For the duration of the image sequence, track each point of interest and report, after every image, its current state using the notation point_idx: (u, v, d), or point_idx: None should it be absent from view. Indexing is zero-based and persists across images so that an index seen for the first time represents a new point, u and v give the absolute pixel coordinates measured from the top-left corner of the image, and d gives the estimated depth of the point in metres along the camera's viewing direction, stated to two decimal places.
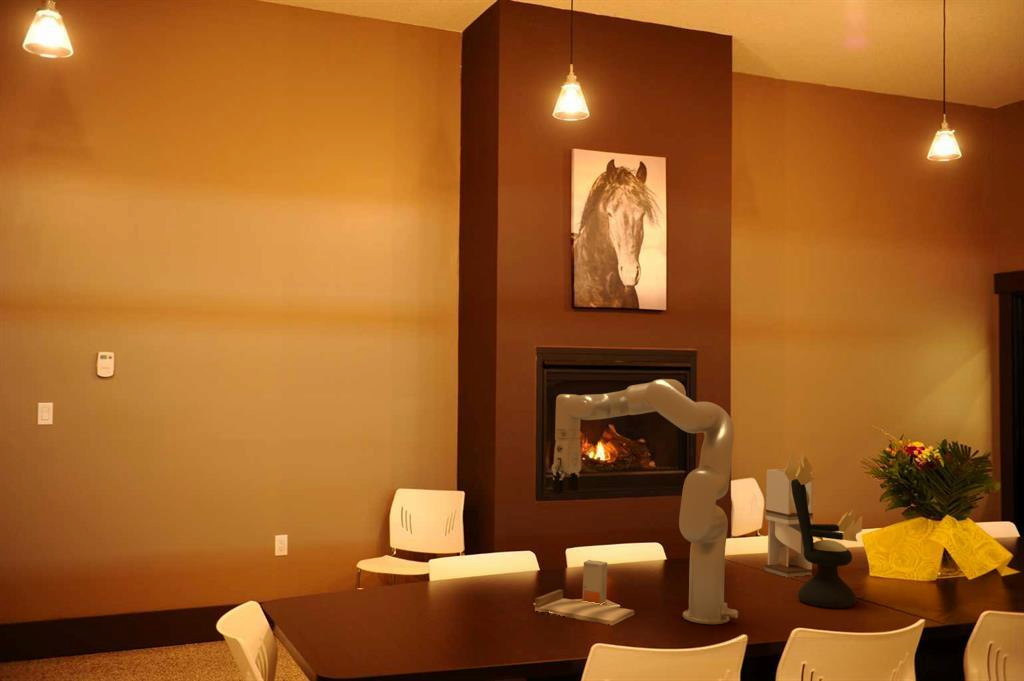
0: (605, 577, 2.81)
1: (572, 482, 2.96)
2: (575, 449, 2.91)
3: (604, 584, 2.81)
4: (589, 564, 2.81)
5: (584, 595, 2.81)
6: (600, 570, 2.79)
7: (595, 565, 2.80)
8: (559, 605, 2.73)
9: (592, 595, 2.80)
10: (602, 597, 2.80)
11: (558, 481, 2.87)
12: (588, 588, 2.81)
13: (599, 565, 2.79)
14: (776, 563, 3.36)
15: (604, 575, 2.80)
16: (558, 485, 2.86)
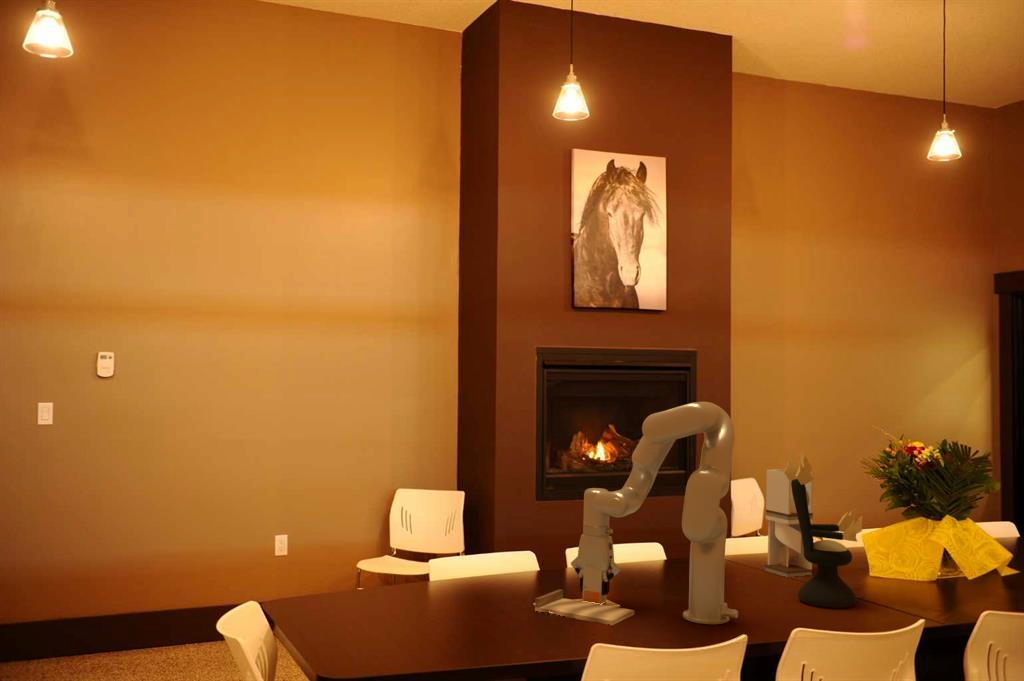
0: None
1: None
2: None
3: None
4: None
5: (584, 595, 2.81)
6: None
7: None
8: (559, 605, 2.73)
9: (592, 595, 2.80)
10: (602, 597, 2.80)
11: (608, 582, 2.80)
12: (588, 588, 2.81)
13: None
14: (776, 563, 3.36)
15: None
16: (609, 586, 2.80)
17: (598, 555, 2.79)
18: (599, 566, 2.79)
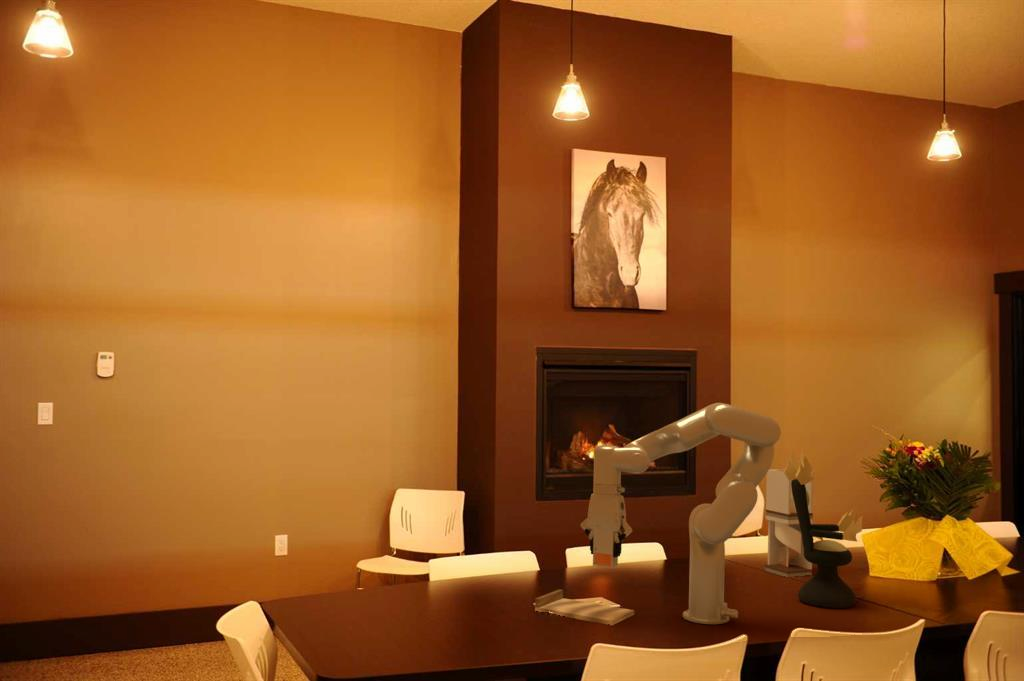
0: None
1: None
2: None
3: None
4: None
5: (594, 557, 2.67)
6: None
7: None
8: (559, 605, 2.73)
9: (603, 557, 2.65)
10: (613, 559, 2.65)
11: (620, 543, 2.65)
12: (598, 550, 2.66)
13: None
14: (776, 563, 3.36)
15: None
16: (620, 547, 2.66)
17: (609, 515, 2.65)
18: (610, 526, 2.65)
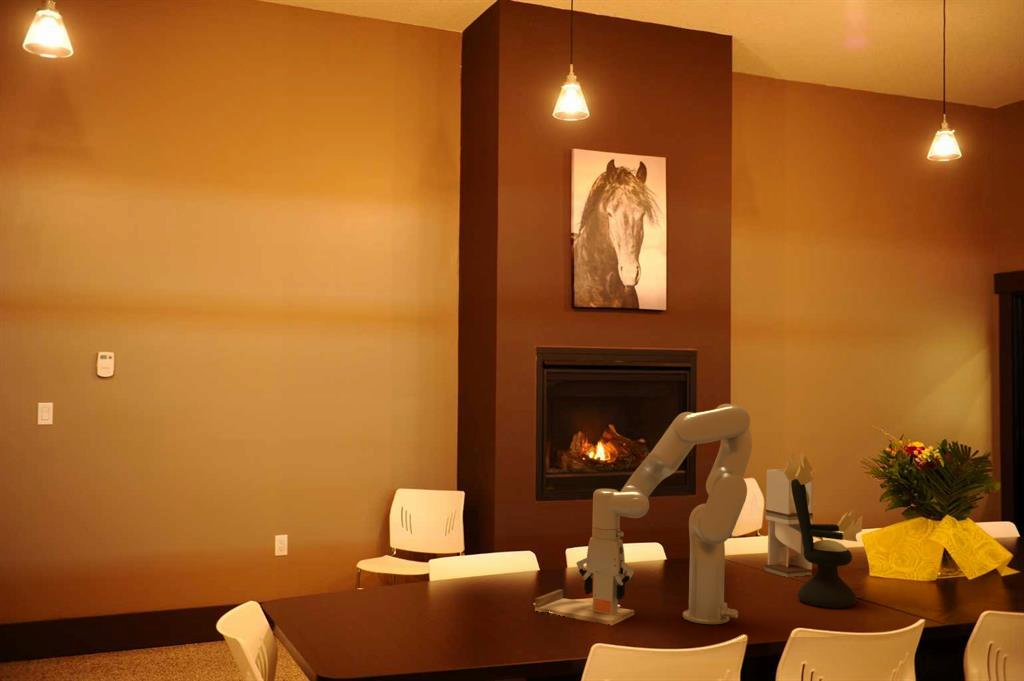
0: (616, 584, 2.66)
1: (590, 585, 2.69)
2: None
3: (615, 592, 2.66)
4: None
5: (594, 604, 2.66)
6: (611, 577, 2.64)
7: None
8: (559, 605, 2.73)
9: (602, 603, 2.65)
10: (613, 605, 2.65)
11: (624, 585, 2.64)
12: (598, 597, 2.66)
13: None
14: (776, 563, 3.36)
15: (615, 582, 2.65)
16: (624, 589, 2.65)
17: (608, 559, 2.64)
18: (609, 571, 2.64)
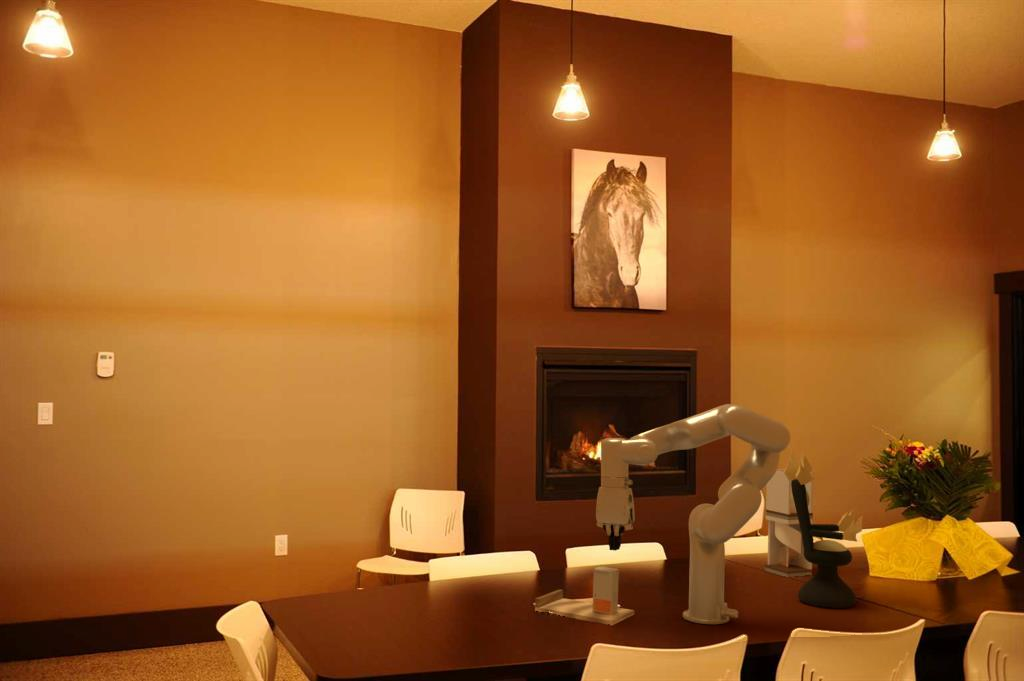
0: (616, 584, 2.66)
1: None
2: None
3: (615, 592, 2.66)
4: (599, 571, 2.66)
5: (594, 604, 2.66)
6: (611, 577, 2.64)
7: (606, 572, 2.65)
8: (559, 605, 2.73)
9: (602, 603, 2.65)
10: (613, 605, 2.65)
11: (619, 536, 2.66)
12: (598, 597, 2.66)
13: (610, 572, 2.64)
14: (776, 563, 3.36)
15: (615, 582, 2.65)
16: (620, 540, 2.66)
17: (617, 508, 2.63)
18: (619, 519, 2.63)
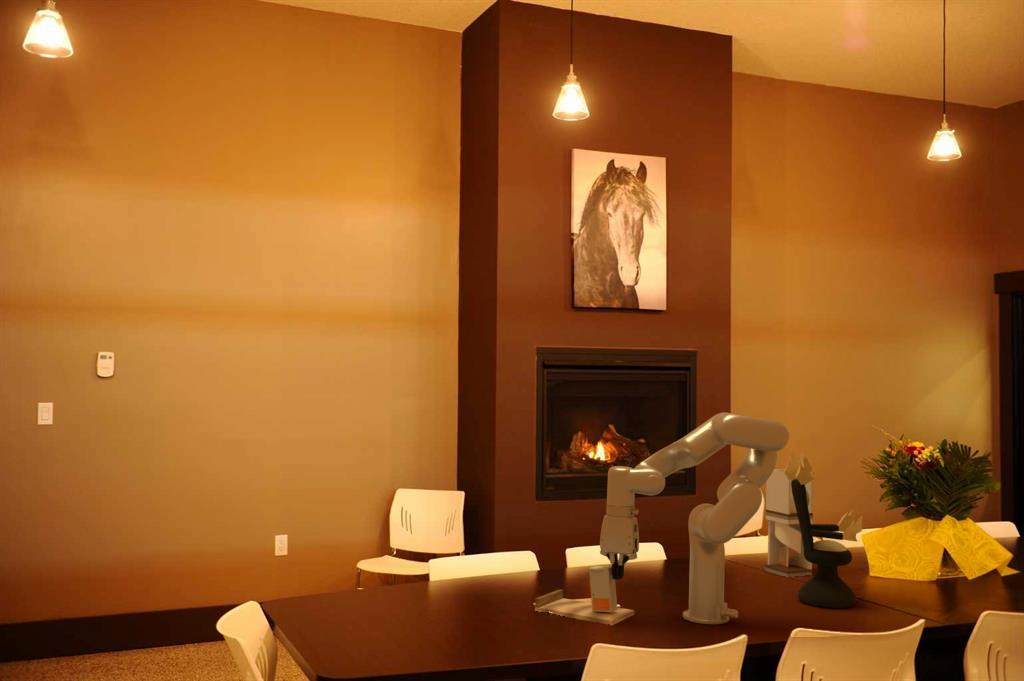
0: (613, 581, 2.67)
1: None
2: None
3: (613, 589, 2.66)
4: (595, 570, 2.67)
5: (593, 603, 2.66)
6: (607, 574, 2.65)
7: (601, 570, 2.66)
8: (559, 605, 2.73)
9: (601, 602, 2.65)
10: (612, 603, 2.65)
11: (623, 566, 2.64)
12: (596, 596, 2.66)
13: (605, 569, 2.65)
14: (776, 563, 3.36)
15: (611, 579, 2.66)
16: (623, 570, 2.65)
17: (622, 537, 2.62)
18: (623, 549, 2.62)
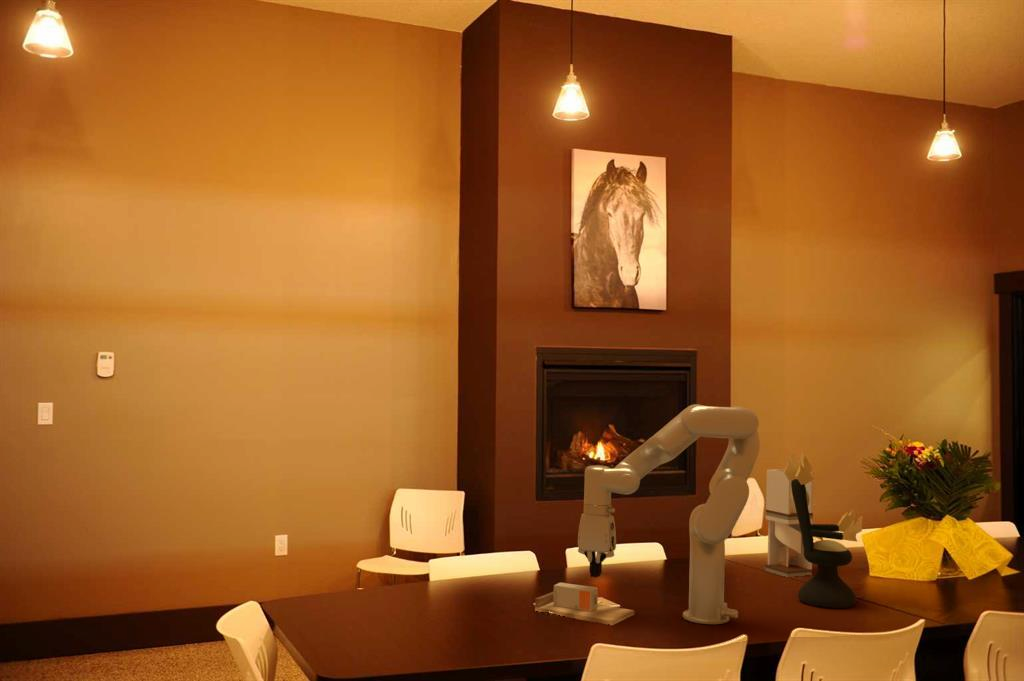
0: (570, 585, 2.73)
1: None
2: None
3: (576, 586, 2.71)
4: (554, 599, 2.72)
5: (584, 608, 2.68)
6: (558, 587, 2.72)
7: (555, 592, 2.72)
8: None
9: (582, 599, 2.68)
10: (585, 588, 2.69)
11: (601, 563, 2.68)
12: (577, 603, 2.69)
13: (554, 588, 2.72)
14: (776, 563, 3.36)
15: (566, 585, 2.72)
16: (601, 567, 2.68)
17: (599, 535, 2.66)
18: (600, 547, 2.66)
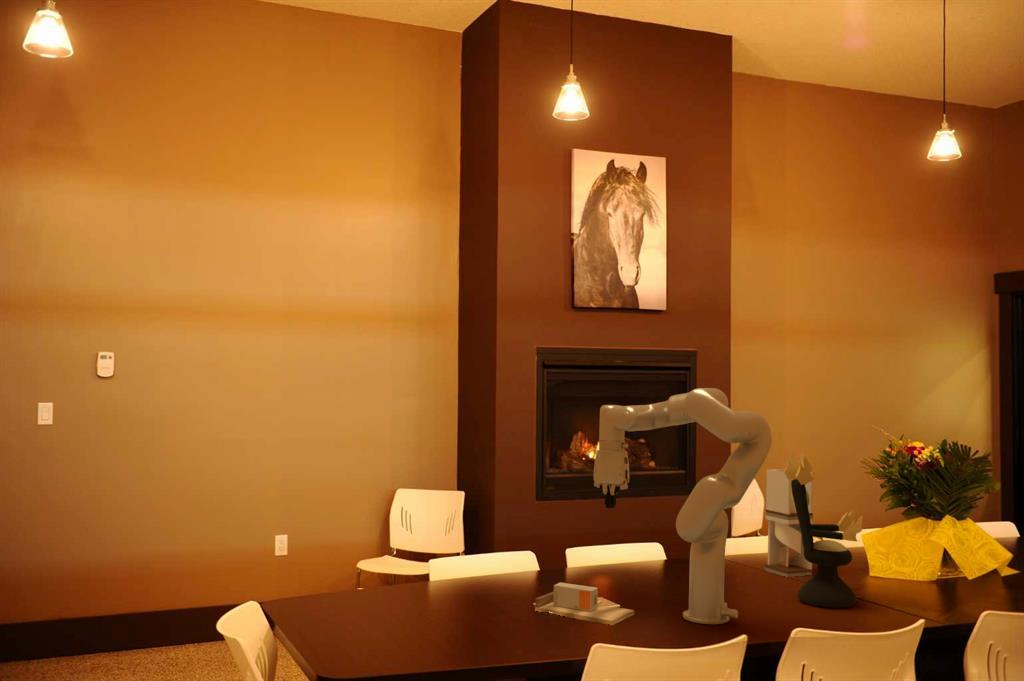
0: (570, 585, 2.73)
1: None
2: None
3: (576, 586, 2.71)
4: (554, 599, 2.72)
5: (584, 608, 2.68)
6: (558, 587, 2.72)
7: (555, 592, 2.72)
8: None
9: (582, 599, 2.68)
10: (585, 588, 2.69)
11: (615, 495, 2.88)
12: (577, 603, 2.69)
13: (554, 588, 2.72)
14: (776, 563, 3.36)
15: (566, 585, 2.72)
16: (615, 499, 2.88)
17: (614, 469, 2.85)
18: (615, 479, 2.85)
